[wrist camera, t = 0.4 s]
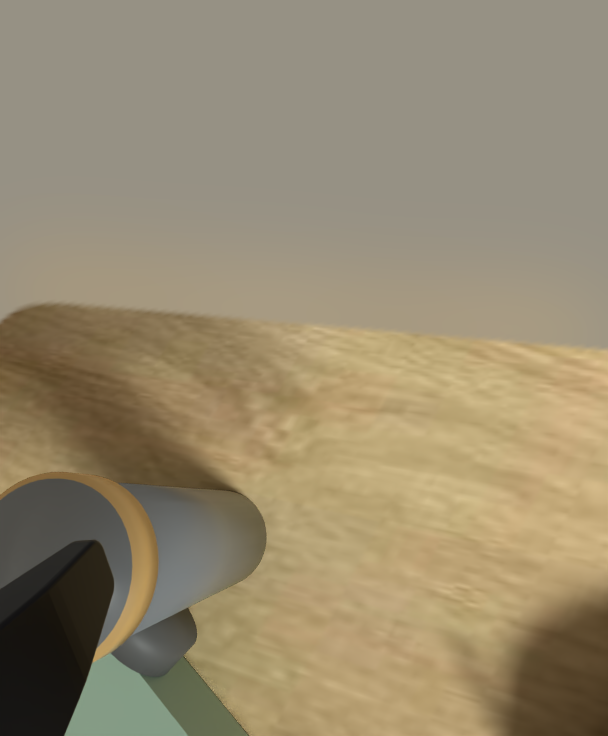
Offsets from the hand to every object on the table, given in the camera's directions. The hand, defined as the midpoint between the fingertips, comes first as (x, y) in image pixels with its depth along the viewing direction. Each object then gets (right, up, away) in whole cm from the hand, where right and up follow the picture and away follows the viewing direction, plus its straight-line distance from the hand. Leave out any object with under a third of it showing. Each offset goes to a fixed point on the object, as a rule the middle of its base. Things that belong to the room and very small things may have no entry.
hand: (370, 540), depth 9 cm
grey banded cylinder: (-5, -5, +15) cm, 17 cm away
